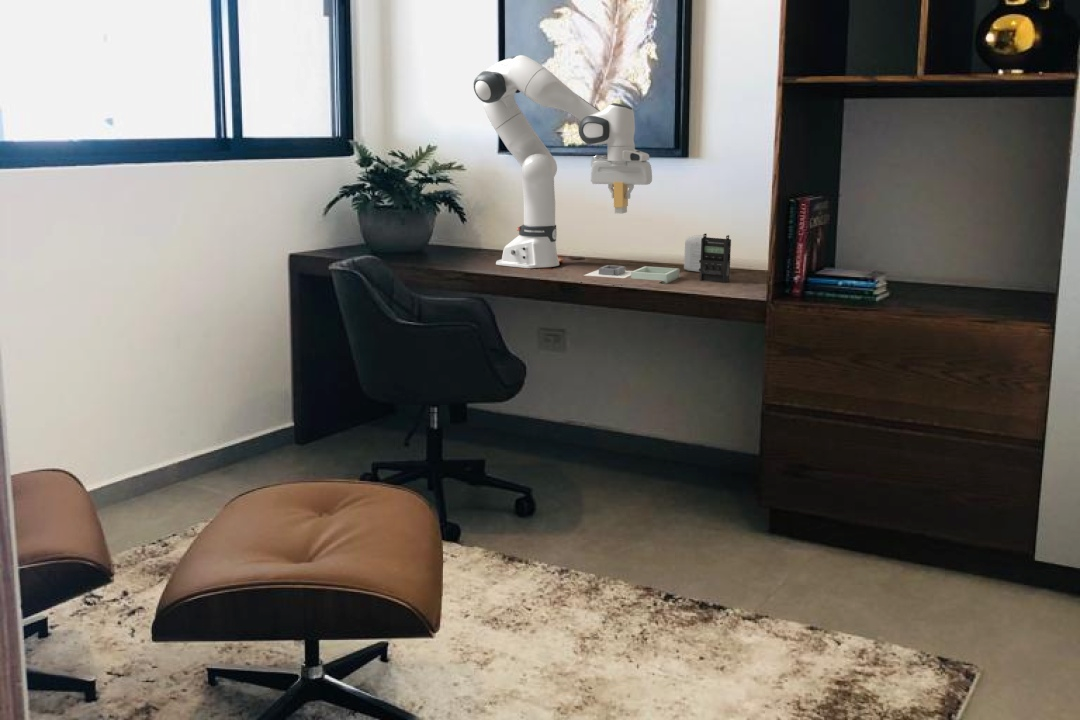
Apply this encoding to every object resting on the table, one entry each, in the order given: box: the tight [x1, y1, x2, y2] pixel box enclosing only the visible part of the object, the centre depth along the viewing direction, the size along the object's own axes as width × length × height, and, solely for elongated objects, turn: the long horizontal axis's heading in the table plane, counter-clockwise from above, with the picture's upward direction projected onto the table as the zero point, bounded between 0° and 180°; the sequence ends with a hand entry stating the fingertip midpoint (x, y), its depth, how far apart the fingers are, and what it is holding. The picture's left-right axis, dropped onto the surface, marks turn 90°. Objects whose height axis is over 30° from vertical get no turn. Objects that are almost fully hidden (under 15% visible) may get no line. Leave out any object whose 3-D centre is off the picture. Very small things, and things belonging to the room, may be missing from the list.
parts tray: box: [630, 265, 680, 285], centre depth 360 cm, size 12×14×3 cm
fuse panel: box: [583, 264, 633, 279], centre depth 366 cm, size 14×16×3 cm
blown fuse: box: [613, 182, 629, 214], centre depth 359 cm, size 3×5×10 cm, turn 156°
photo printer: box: [683, 234, 711, 273], centre depth 376 cm, size 10×4×12 cm, turn 56°
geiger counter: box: [699, 233, 732, 284], centre depth 356 cm, size 10×4×15 cm, turn 56°
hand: (620, 198), depth 359 cm, fingers closed on blown fuse, 3 cm apart
